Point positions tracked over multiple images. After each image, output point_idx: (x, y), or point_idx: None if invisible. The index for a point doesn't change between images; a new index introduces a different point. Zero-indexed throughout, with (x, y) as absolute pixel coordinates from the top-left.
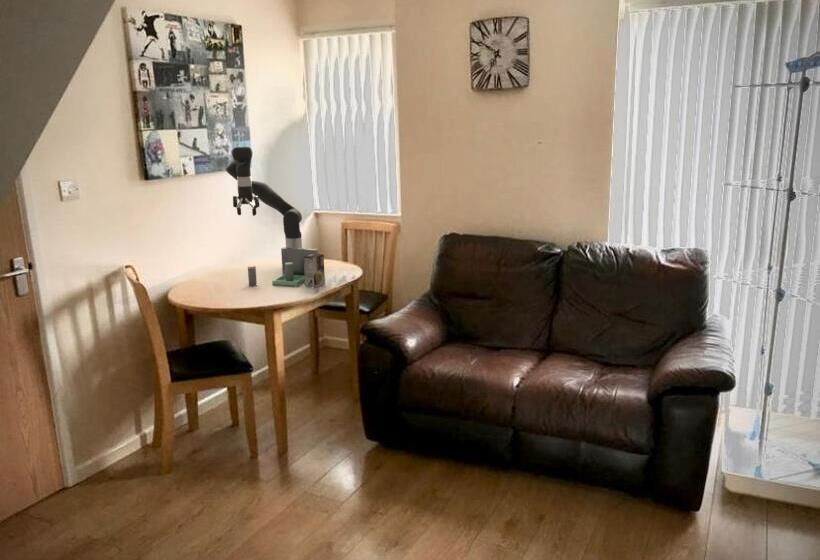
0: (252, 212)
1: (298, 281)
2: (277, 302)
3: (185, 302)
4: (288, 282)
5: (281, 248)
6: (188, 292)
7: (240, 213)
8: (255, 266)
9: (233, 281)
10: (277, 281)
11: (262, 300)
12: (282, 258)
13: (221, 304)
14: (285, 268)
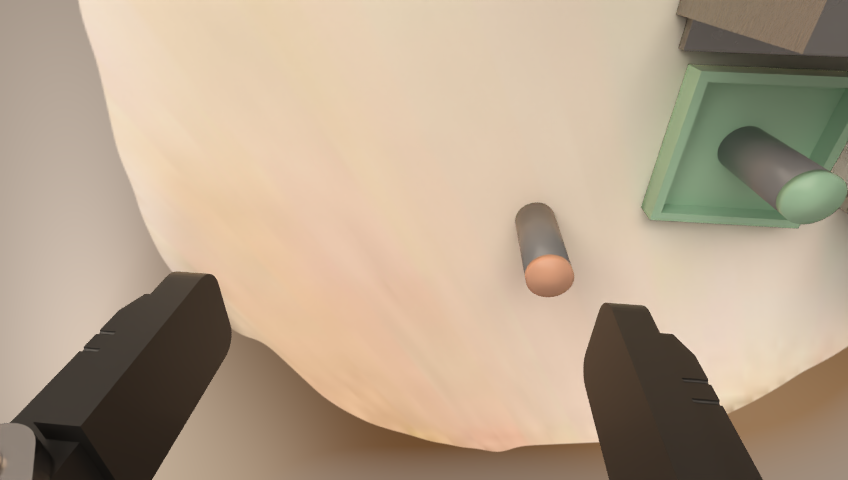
0: (601, 444)
1: None
2: None
3: (386, 422)
4: (745, 223)
5: (806, 53)
6: (318, 341)
7: (202, 323)
8: (573, 275)
9: (402, 169)
10: (679, 219)
11: None
12: (751, 35)
13: (510, 430)
14: (763, 197)
